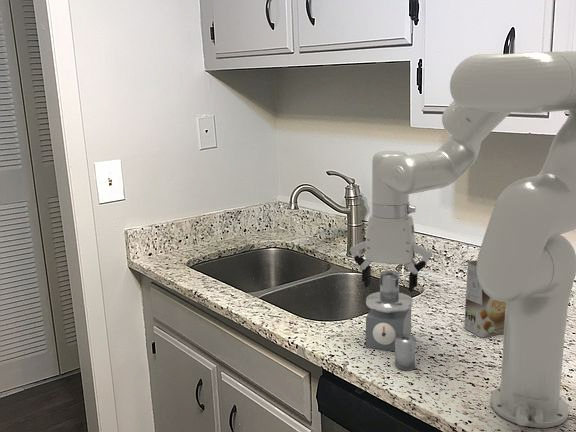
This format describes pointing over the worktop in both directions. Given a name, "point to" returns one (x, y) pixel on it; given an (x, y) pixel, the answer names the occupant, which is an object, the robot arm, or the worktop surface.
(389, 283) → the cylinder
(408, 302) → the pan
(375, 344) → the scale
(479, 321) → the printed food package
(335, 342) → the worktop surface
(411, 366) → the cylinder
